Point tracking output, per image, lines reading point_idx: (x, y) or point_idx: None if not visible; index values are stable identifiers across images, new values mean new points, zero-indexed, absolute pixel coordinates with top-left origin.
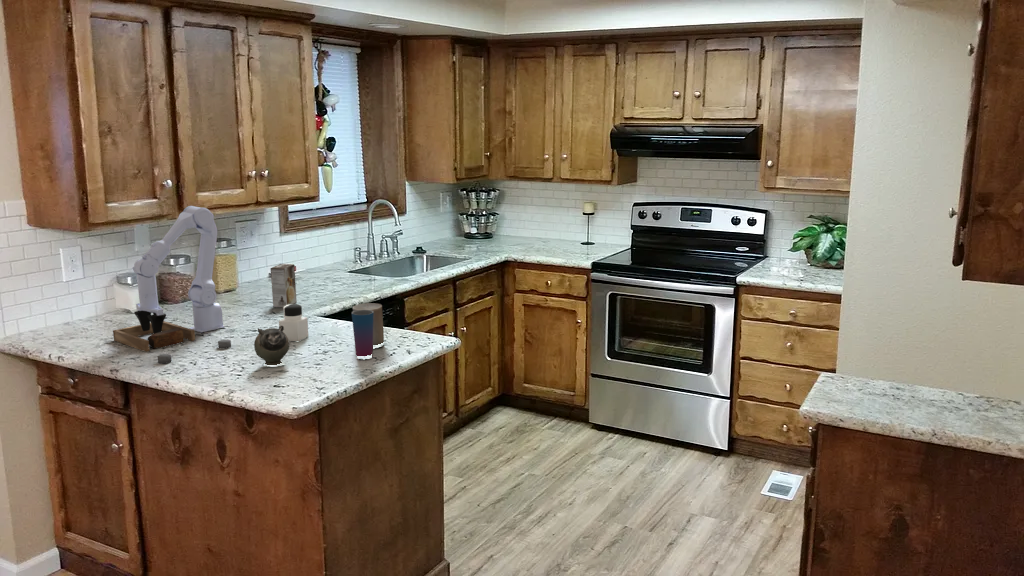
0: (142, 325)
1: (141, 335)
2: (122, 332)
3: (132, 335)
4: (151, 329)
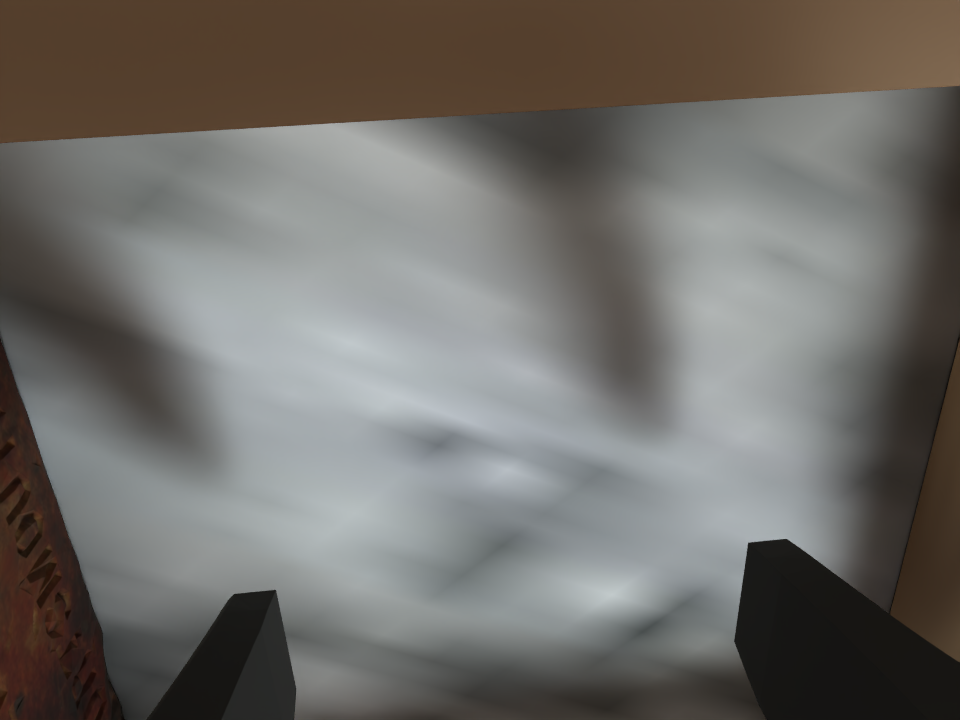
0: (834, 637)
1: (923, 486)
2: (945, 40)
3: (300, 101)
4: None
